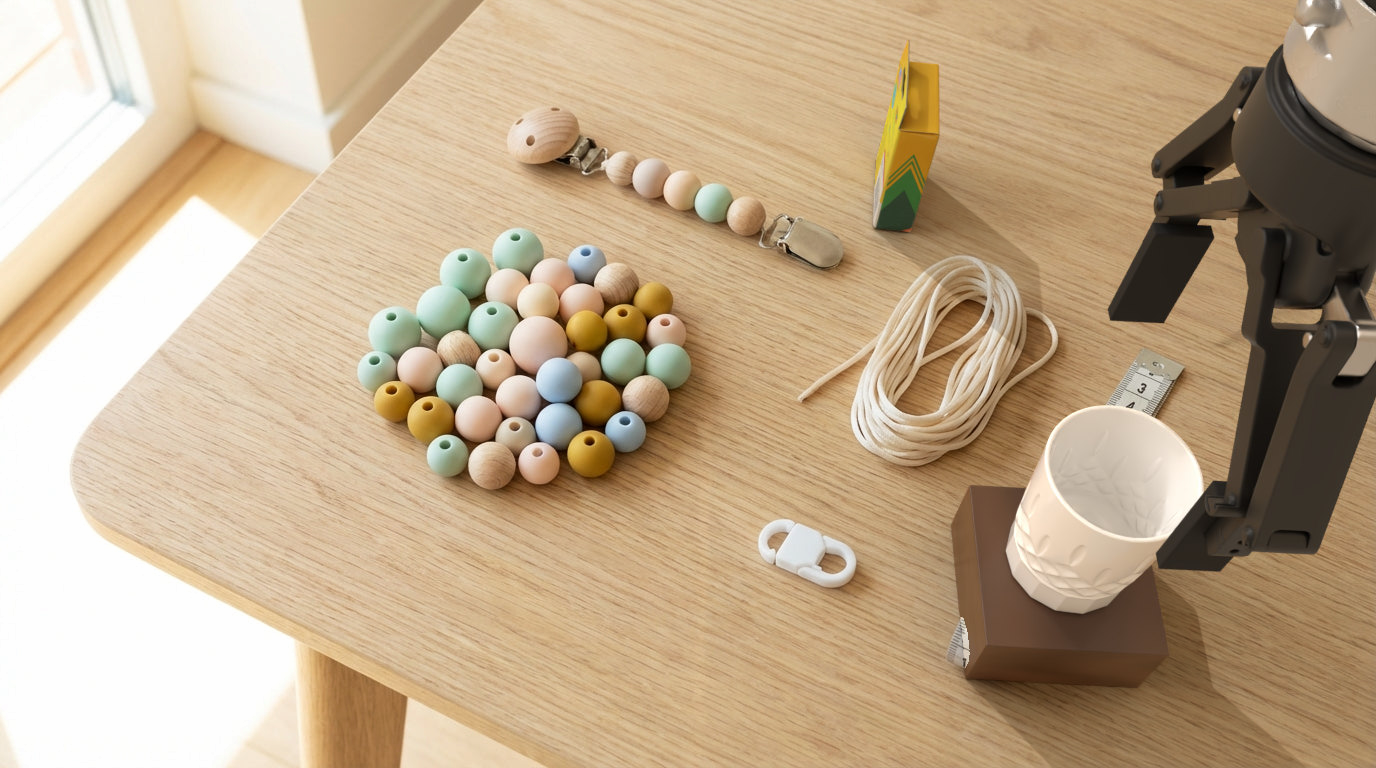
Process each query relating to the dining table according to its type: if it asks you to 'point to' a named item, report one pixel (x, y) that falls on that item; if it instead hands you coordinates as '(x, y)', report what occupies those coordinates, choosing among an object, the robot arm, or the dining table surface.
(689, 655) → the dining table surface
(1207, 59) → the dining table surface
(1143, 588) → the walnut riser
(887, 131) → the crayon box
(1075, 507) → the white cup
